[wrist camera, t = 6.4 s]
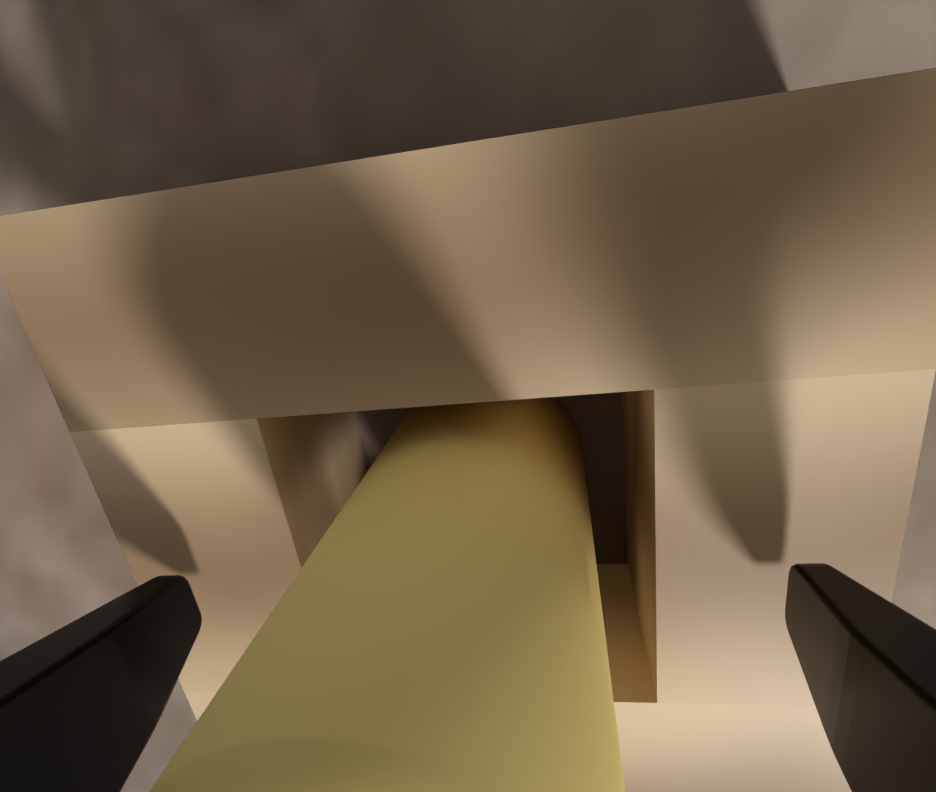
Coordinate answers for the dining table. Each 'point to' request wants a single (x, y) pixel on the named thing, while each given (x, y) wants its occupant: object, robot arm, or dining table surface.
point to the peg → (432, 629)
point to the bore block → (534, 376)
